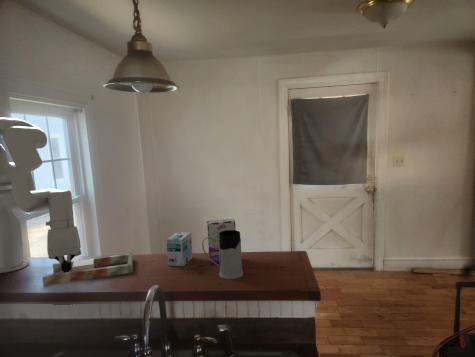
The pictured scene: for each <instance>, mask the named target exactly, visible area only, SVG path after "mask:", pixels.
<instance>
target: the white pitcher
mask: <svg viewBox="0 0 475 357" xmlns="http://www.w3.org/2000/svg"><path fill="white" fill-rule="evenodd" d="M208 238H210V239H212V240H213V242H214V247H215V241H214V239H213V238H211V237H205V238H203V240H202V242H201V244H202V251H203V253H204V255H205V257H206V258H207V259H208V261H209V260H211V259H210V258H209V255H208V254H207V252H206V251H205V248H204V247H205V246H204V241H205V240H208ZM219 245H220V247H219V248H217V247H215V248H216V249H219V257H220V263H215V262H214V261H213V260H211V261H212V262H213V263H214V265H215V266H217V267H218V270H219V272H218V276H219V277H220V278H222V279H226V280H233V279H239V278H241V277H242V276H243V275H244V272H243V263H242V259H243V258H242V238H241V232H240V231H239V230H226V231H222V232H220V233H219Z"/></svg>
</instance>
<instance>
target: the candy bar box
mask: <svg viewBox="0 0 475 357" xmlns="http://www.w3.org/2000/svg"><path fill="white" fill-rule="evenodd" d="M226 230H236V221H235V218H225V219H216V220H207V221H206V231H207V232H206V233H207V235H206V236H207V237H211V238H213V239H214V241H215V247H217V248H219V247H220V245H219V233H220V232H222V231H226ZM236 231H237V230H236ZM215 247H214V242H213V240H212V239H210V238H207V251H208V254H207V255H208V257H209V258H210V259H211V260H213V261H214V262H215V263H217V264H220V257H219V249H216V248H215ZM211 260H209V259H208V261H209V264H210V265H213V264H214V263H213V262H212V261H211ZM214 265H215V264H214Z"/></svg>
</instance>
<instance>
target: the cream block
mask: <svg viewBox="0 0 475 357" xmlns="http://www.w3.org/2000/svg"><path fill="white" fill-rule="evenodd" d="M91 258H92V259H91ZM91 258H84V259H85V260H83V259H77V260H78V261H75V260H73V261H74V263H73V266H72V270H71V272H73V271H80V270H88V269H95V267H96V266H94V258H95V257H94V258H93V257H91Z"/></svg>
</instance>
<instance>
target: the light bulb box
mask: <svg viewBox="0 0 475 357" xmlns="http://www.w3.org/2000/svg"><path fill="white" fill-rule="evenodd" d="M192 238H193V237H192V232H186V231H185V232H181V231H180V232H179V231H178V232H177V231H176V232H175V233H173V234H172V235H171V236H169V237H168V238H166V247H167V248H166V249H167V250H166V251H167V266H170V267H171V266H173V267H185V265H186V264H188V262H190V261H191V260H192V259H193V241H192Z"/></svg>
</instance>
